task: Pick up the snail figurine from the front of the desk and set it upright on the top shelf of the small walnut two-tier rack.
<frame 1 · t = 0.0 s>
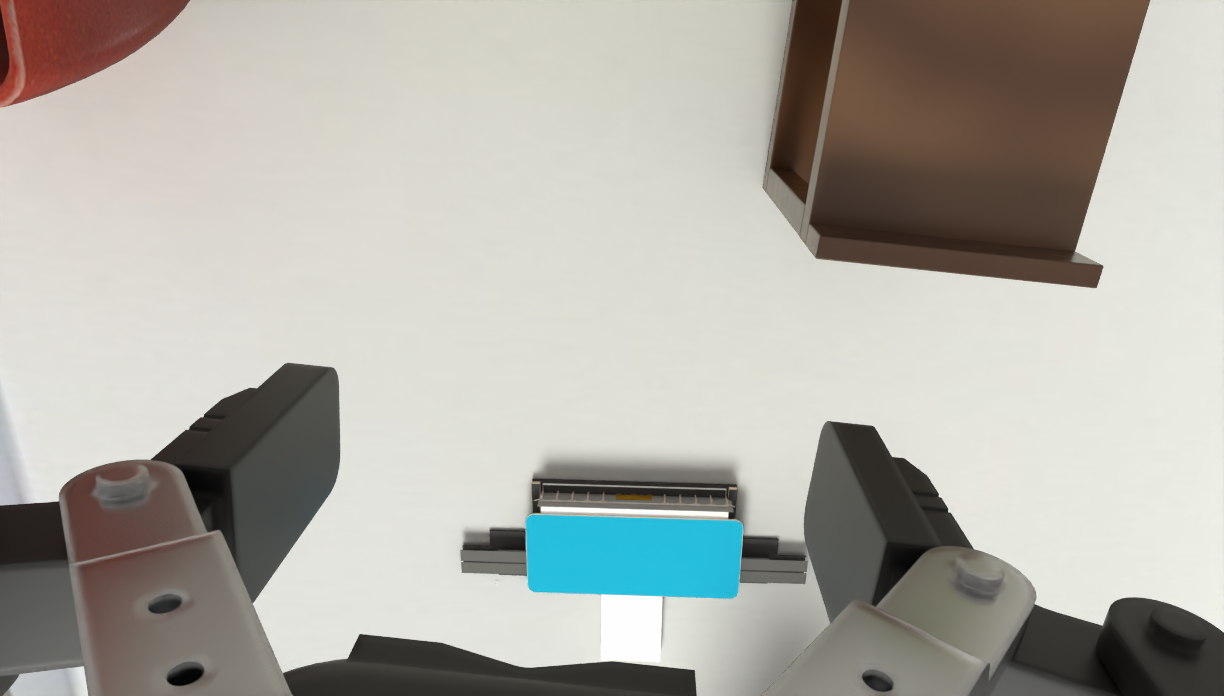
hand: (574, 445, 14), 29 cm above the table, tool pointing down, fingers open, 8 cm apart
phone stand: (632, 568, 49), on the table
rack: (890, 37, 38), on the table
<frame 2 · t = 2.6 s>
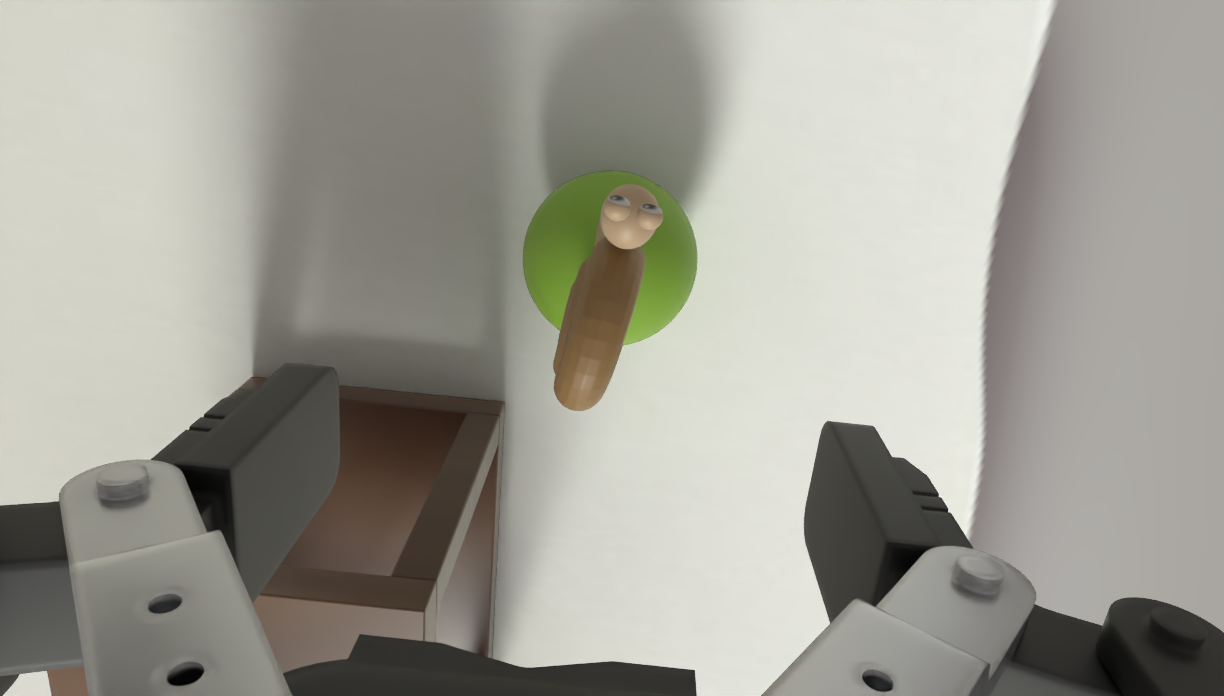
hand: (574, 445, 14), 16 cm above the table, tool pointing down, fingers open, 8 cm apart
snail figurine: (617, 224, 29), on the table
rack: (379, 558, 34), on the table
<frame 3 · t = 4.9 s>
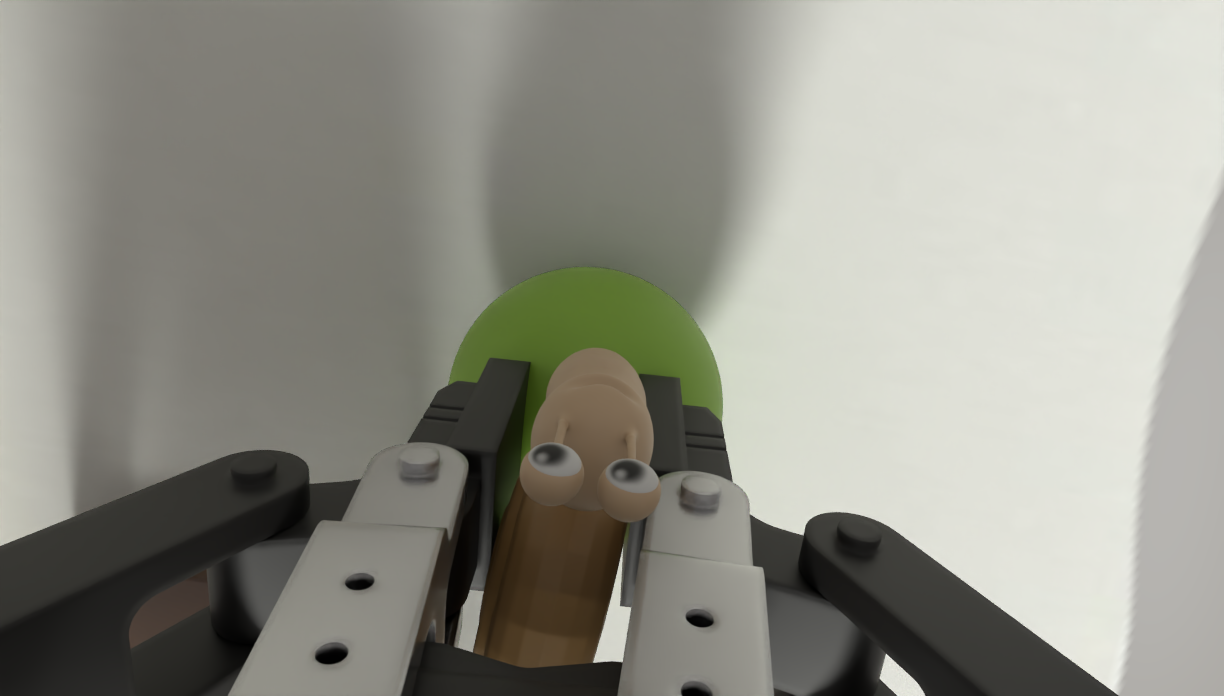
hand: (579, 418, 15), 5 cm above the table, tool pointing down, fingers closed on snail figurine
snail figurine: (598, 332, 19), on the table, touching gripper
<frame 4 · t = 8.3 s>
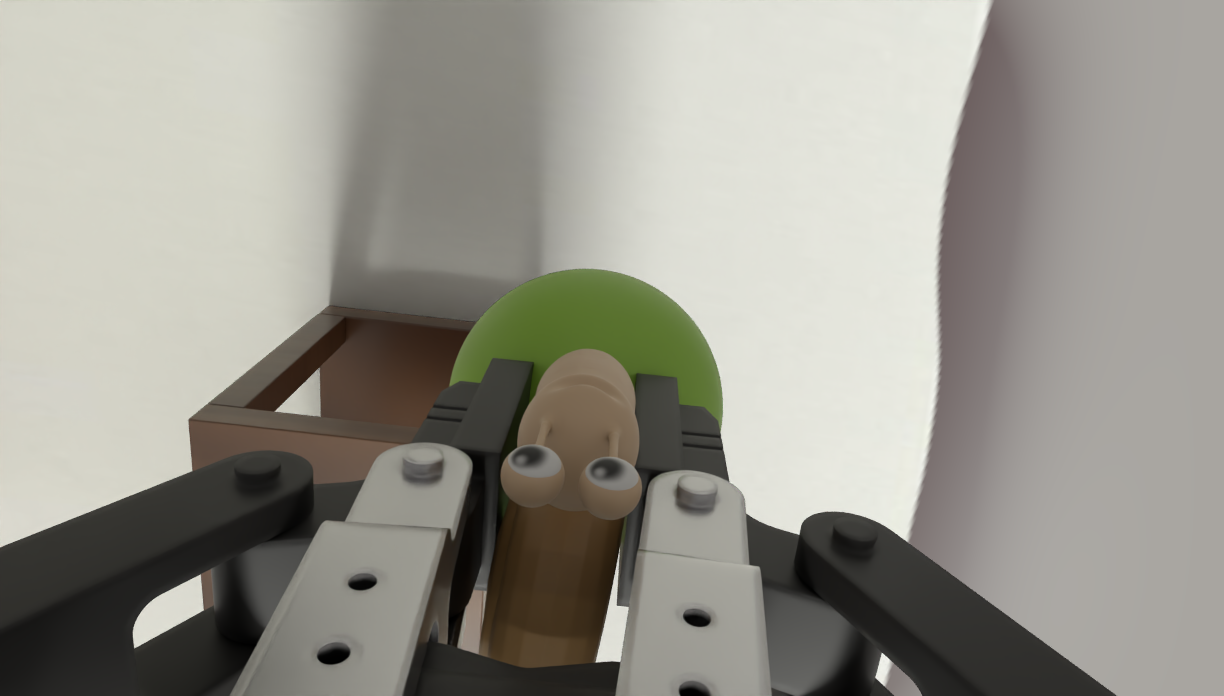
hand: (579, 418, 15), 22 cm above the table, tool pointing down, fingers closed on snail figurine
snail figurine: (597, 333, 19), point 17 cm above the table, touching gripper
rack: (429, 465, 40), on the table
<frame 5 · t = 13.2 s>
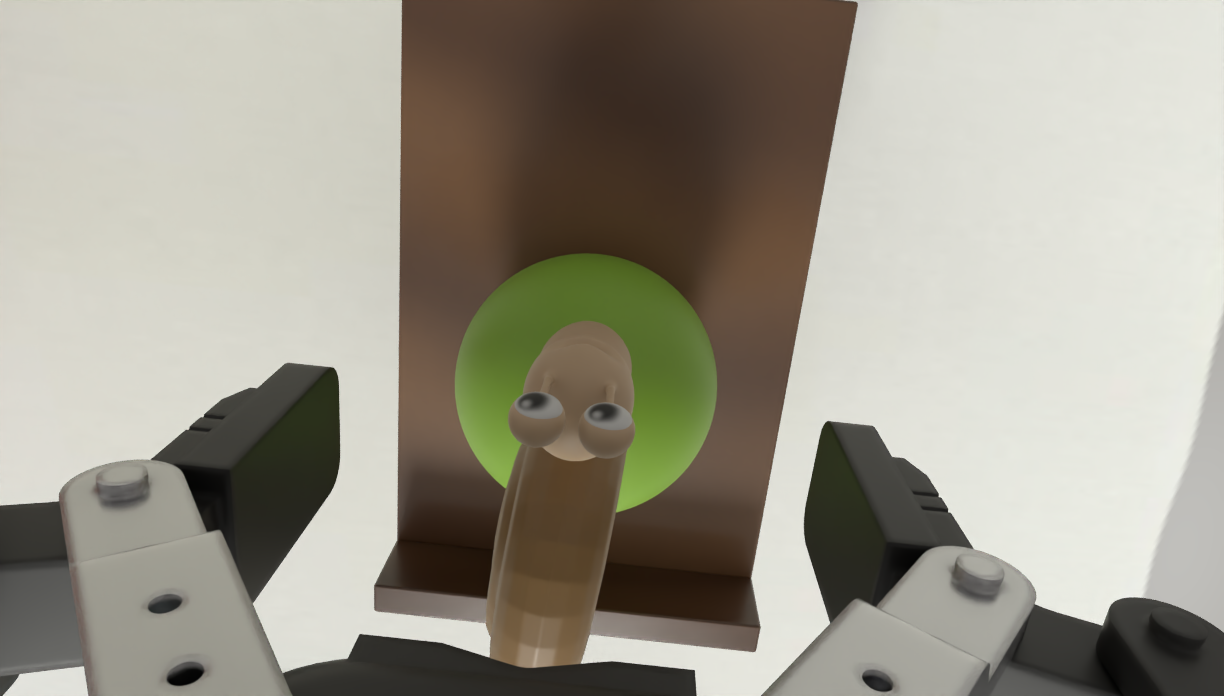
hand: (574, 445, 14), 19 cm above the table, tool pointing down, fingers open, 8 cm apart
snail figurine: (597, 317, 20), point 12 cm above the table, touching rack
rack: (615, 218, 31), on the table
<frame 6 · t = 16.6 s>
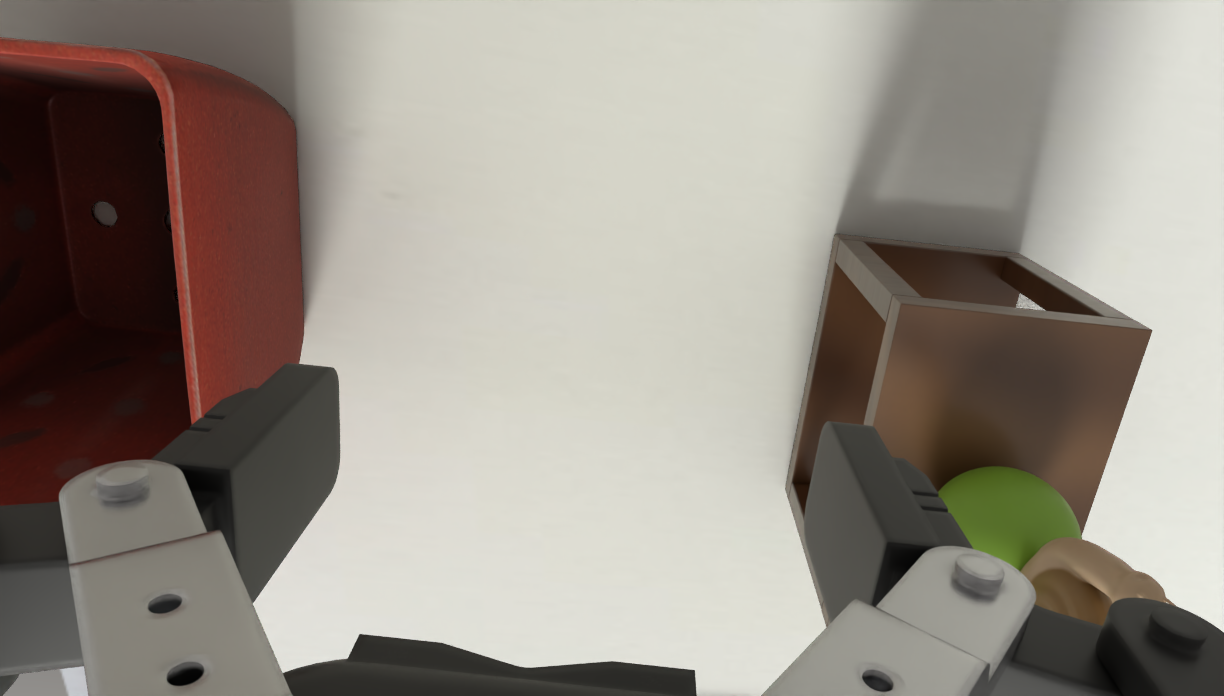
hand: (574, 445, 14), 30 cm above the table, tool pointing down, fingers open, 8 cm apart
snail figurine: (975, 488, 34), point 12 cm above the table, touching rack
rack: (895, 378, 45), on the table
flower pot: (181, 220, 44), on the table
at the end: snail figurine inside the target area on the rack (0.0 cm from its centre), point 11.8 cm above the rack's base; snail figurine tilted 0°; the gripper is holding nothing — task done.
